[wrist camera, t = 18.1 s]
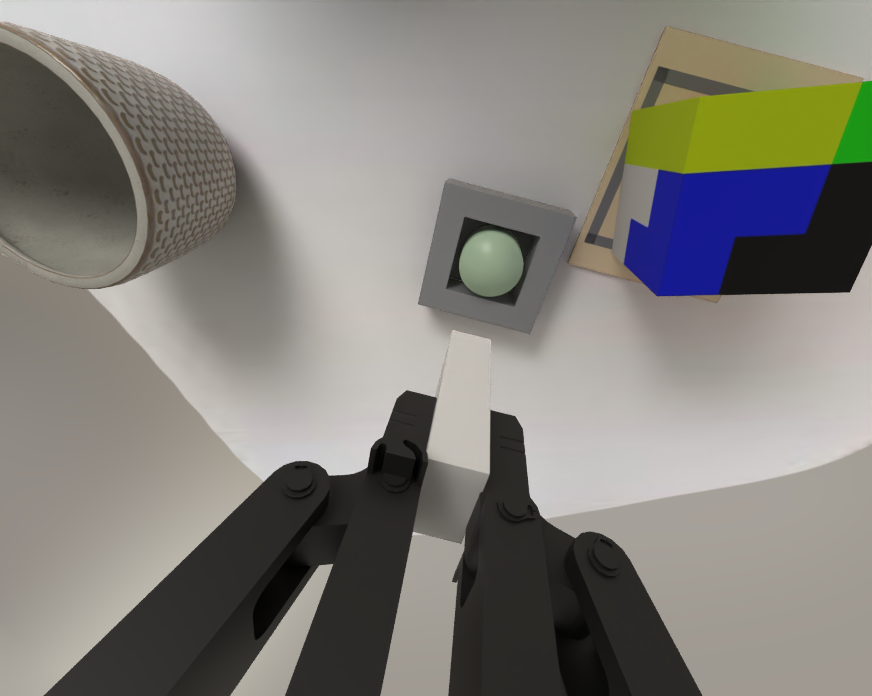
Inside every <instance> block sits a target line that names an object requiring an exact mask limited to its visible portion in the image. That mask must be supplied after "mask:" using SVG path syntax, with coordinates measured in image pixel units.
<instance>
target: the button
mask: <svg viewBox="0 0 872 696" xmlns="http://www.w3.org/2000/svg"><path fill="white" fill-rule="evenodd" d="M459 272H460V276H461V278H462V280H463V282H464V284H465V285H466V286H467V287H468V288H469V289H470V290H471V291H473V292H474V293H476V294H479V295H482V296H487V297H494V296H499V295H502V294H504V293H506V292H508V291H510V290H511V289H512V288H513V287H514V286H515V285H516V284H517V283H518V281H519V279H520V277H521V275H522V272H523V257H522V253H521V249H520V246H519V243H518V240H517V239H516V237H515V236H514V234H513V233H512V232H510V231H509V230H508V229H506V228H504V227H501V226H497V225H487V226H483V227H480V228H478V229H477V230H475V231H474V232H472V233H471V234H470V235H469V237H468V238H467V240H466V241H465V243H464V246H463V249H462V253H461V257H460V261H459Z"/></svg>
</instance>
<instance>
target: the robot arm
mask: <svg viewBox="0 0 872 696" xmlns="http://www.w3.org/2000/svg"><path fill="white" fill-rule="evenodd" d="M490 383H491V339H487V338H483V337H479V336H475V335H471V334H467V333H463V332H459V331H455V330H452V333H451V337H450V341H449V344H448V348H447V352H446V356H445V360H444V364H443V367H442V371H441V375H440V379H439V383H438V386H437V391H436V396H435V397H431V396H427V395H423V394H419V393H415V392H411V391H405V392H404V393H403V394H402V395H401V396H399V397H398V398H397V400H396V403H395V405H394V408H393V411H392V414H391V416H390V419H389V422H388V425H387V427H386V430H385V433H384V436H383V437H382V438H380V439H379V440H377V441H376V442H375V443H374V445H373V446H372V448H371V451H370V457H369V463H368V467H367V468H366V469H364V470H362V471H360V472H358V473H355V474H350V475H335V476H328V474H327V472H326V470H325V469H323V468H322V467H321V466H319V465H318V464H315V463H312V462H308V461H295V462H292V463H289V464H286V465H283V466H282V467H281V468H279V469H278V470H276V471H275V472H274V473H273V474H272V475H271V476H269V477H268V478H267V479H266V480H265V481H264V482H263V483H262V484H261V485H260V486H259V487H258V488H257V489H256V490H255V491H254V492H253V493H252V494H251V495H250V496H249V497H248V498H247V499H246V500H245V501H244V502H243V503H242V504H241V505H240V506H239V507H238V508H237V509H236V510H234V511H233V513H231V514H230V515H229V516H228V517H227V518H226V519H225V520H224V521H223V522H222V523H221V524H220V525H219V526H218V527H217V528H216V529H215V530H214V531H213V532H212V533H211V534H210V535H209V536H208V537H207V538H206V539H205V540H204V541H203V542H202V543H200V544H199V545H198V546H197V547H196V548H195V549H194V550H193V551H192V552H191V553H190V554H189V555H188V556H187V557H186V558H185V559H184V560H183V561H182V562H181V563H180V564H179V565H178V566H177V567H176V568H175V569H174V570H173V571H172V572H171V573H170V574H169V575H168V576H167V577H165V578H164V579H163V580H162V581H161V582H160V583H159V584H158V585H157V586H156V587H155V588H154V589H153V590H152V591H151V592H150V593H149V594H148V595H147V596H146V597H145V598H144V599H143V600H142V601H141V602H140V603H139V604H138V605H137V606H136V607H135V608H134V609H133V610H132V611H131V612H130V613H129V614H127V615H126V616H125V617H124V618H123V619H122V620H121V621H120V622H119V623H118V624H117V625H116V626H115V627H114V628H113V629H112V630H111V631H110V632H109V633H108V634H107V635H106V636H105V637H104V638H103V639H102V640H101V641H100V642H99V643H98V644H97V645H95V646H94V647H93V648H92V650H90V651H89V652H88V653H87V654H86V655H85V656H84V657H83V658H82V659H81V660H80V661H79V662H78V663H77V664H76V665H75V666H74V667H73V668H72V669H71V670H70V671H69V672H68V673H67V674H66V675H65V676H64V677H63V678H62V679H61V680H59V681H58V683H56V684H55V685H54V686H53V687H52V688H51V689H50V690H49V691H48V692H47V693H46V694H45V695H44V696H230V695H231V693H232V692H233V690H234V689H235V688H236V686H237V685H238V683H239V682H240V680H241V679H242V677H243V676H244V674H245V673H246V672H247V670H248V669H249V667H250V666H251V664H252V663H253V661H254V660H255V658H256V657H257V655H258V654H259V652H260V651H261V650H262V648H263V646H264V645H265V644H266V642H267V641H268V639H269V638H270V636H271V635H272V633H273V632H274V630H275V629H276V628H277V626H278V624H279V623H280V622H281V620H282V619H283V617H284V616H285V614H286V613H287V611H288V610H289V609H290V607H291V606H292V604H293V603H294V601H295V600H296V598H297V597H298V595H299V594H300V592H301V591H302V589H303V588H304V587H305V585H306V584H307V582H308V581H309V579H310V578H311V576H312V575H313V573H314V572H315V570H316V569H317V568H318V566H319V565H327V564H333V567H332V569H331V572H330V575H329V578H328V581H327V583H326V586H325V589H324V591H323V594H322V597H321V600H320V602H319V605H318V608H317V610H316V613H315V616H314V618H313V621H312V624H311V627H310V630H309V632H308V635H307V637H306V641H305V643H304V646H303V648H302V651H301V654H300V657H299V660H298V662H297V665H296V667H295V670H294V673H293V676H292V678H291V681H290V684H289V686H288V689H287V692H286V695H285V696H380V694H381V689H382V684H383V679H384V674H385V669H386V664H387V659H388V654H389V649H390V643H391V638H392V634H393V629H394V624H395V618H396V613H397V608H398V603H399V598H400V593H401V588H402V583H403V578H404V573H405V568H406V563H407V557H408V553H409V547H410V543H411V538H412V533H413V532H417V533H421V534H425V535H429V536H433V537H437V538H440V539H444V540H448V541H452V542H456V543H460V544H461V543H462V541H463V538H464V536H465V549H464V552H463V554H462V557H461V559H460V562H459V564H458V566H457V569H456V571H455V574H454V577H453V581H452V582H457V580H458V585H457V596H456V610H455V621H454V635H453V646H452V658H451V670H450V683H449V695H448V696H702V694H701V692H700V690H699V689H698V687H697V685H696V683H695V681H694V679H693V677H692V675H691V674H690V672H689V670H688V668H687V666H686V664H685V662H684V660H683V659H682V657H681V655H680V653H679V651H678V649H677V648H676V645H675V644H674V642H673V640H672V638H671V636H670V634H669V632H668V630H667V629H666V627H665V625H664V623H663V621H662V619H661V617H660V615H659V614H658V612H657V610H656V608H655V606H654V604H653V602H652V600H651V598H650V597H649V595H648V593H647V591H646V589H645V587H644V585H643V584H642V582H641V580H640V578H639V576H638V575H637V572H636V570H635V568H634V567H633V565H632V563H631V561H630V559H629V558H628V557H627V555H626V554H625V552H624V551H623V550H622V548H620V547H619V546H618V545H617V544H616V543H615V542H613V540H611V539H609V538H607V537H606V536H604V535H602V534H599V533H595V532H585V533H581V534H580V535H579V536H578V537H577V538H574V537H572V536H570V535H568V534H567V533H565V532H563V531H561V530H559V529H558V528H556V527H554V526H553V525H551V524H550V523H548V522H547V521H546V520H545V519H544V518H543V517H541V516H540V513H539V510H538V507H537V506H536V504H535V503H534V502H533V500H532V499H531V498H530V494H529V486H528V476H527V466H526V456H525V446H524V436H523V429H522V427H521V425H520V423H519V422H518V420H517V418H516V417H515V416H512V415H508V414H504V413H500V412H496V411H492V410H490Z"/></svg>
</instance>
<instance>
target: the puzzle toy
mask: <svg viewBox="0 0 872 696" xmlns="http://www.w3.org/2000/svg"><path fill="white" fill-rule="evenodd" d="M871 246H872V81H866V82H855V83H844V84H833V85H822V86H811V87H800V88H789V89H778V90H767V91H756V92H745V93H734V94H723V95H712V96H701V97H696V98H691V99H686V100H681V101H676V102H672V103H667V104H662V105H657V106H653V107H648V108H643V109H638V110H633V111H632V115H631V122H630V129H629V136H628V143H627V150H626V156H625V163H624V170H623V177H622V184H621V191H620V197H619V204H618V211H617V218H616V225H615V232H614V239H613V245H612V252H611V253H612V254H613V255H614V256H615V257H616V258H617V259H618V260H619V261H620V262H622V263H623V264H624V265H625V266H626V267H627V268H628V269H629V270H630V271H631V272H632V273H633V274H634V275H635V276H636V277H637V278H638V279H639V280H641V281H642V282H643V283H644V284H645V285H646V286H647V287H648V288H649V289H650V290H651V291H652V292H653V293H654V294H655V295H656V296H693V295H743V294H792V293H841V292H850V291H851V289H852V287H853V284H854V282H855V280H856V278H857V276H858V274H859V272H860V269H861V267H862V265H863V263H864V261H865V259H866V256H867V254H868V252H869V250H870V248H871Z"/></svg>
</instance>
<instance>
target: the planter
mask: <svg viewBox="0 0 872 696" xmlns="http://www.w3.org/2000/svg"><path fill="white" fill-rule="evenodd" d="M235 197H236V174H235V167H234V163H233V160H232V156H231V153H230V150H229V148H228V145H227V143H226V141H225V139H224V137H223V135H222V133H221V131H220V129H219V128H218V126H217V125H216V123H215V122H214V120H213V119H212V118H211V116H210V115H209V114H208V113H207V111H206V110H205V109H204V108H203V107H202V106H201V105H200V104H199V103H198V102H197V101H196V100H195V99H194V98H193V97H192V96H191V95H189V94H188V93H187V92H186V91H185V90H184V89H182V88H181V87H179V86H178V85H176V84H175V83H173V82H172V81H170V80H169V79H167V78H166V77H164V76H162V75H160V74H158V73H156V72H154V71H152V70H150V69H147V68H145V67H143V66H141V65H139V64H136V63H134V62H131V61H128V60H126V59H123V58H120V57H117V56H115V55H112V54H109V53H106V52H103V51H100V50H97V49H94V48H91V47H88V46H84V45H81V44H78V43H74V42H71V41H68V40H65V39H61V38H58V37H55V36H52V35H49V34H45V33H42V32H39V31H36V30H33V29H30V28H26V27H23V26H19V25H16V24H12V23H8V22H4V21H0V253H2V254H3V255H5V256H6V257H7V258H9V259H10V260H12V261H13V262H15V263H16V264H18V265H19V266H21V267H23V268H25V269H26V270H28V271H30V272H32V273H34V274H36V275H38V276H40V277H43V278H45V279H48V280H49V281H52V282H55V283H58V284H61V285H65V286H68V287H75V288H81V289H101V288H106V287H111V286H115V285H120V284H123V283H126V282H129V281H131V280H133V279H136V278H138V277H140V276H142V275H145V274H147V273H149V272H151V271H153V270H155V269H157V268H159V267H161V266H163V265H165V264H167V263H169V262H172V261H174V260H176V259H178V258H180V257H182V256H183V255H185V254H187V253H189V252H190V251H192V250H194V249H196V248H197V247H199V246H201V245H202V244H203V243H205V242H206V241H208V240H209V239H210V238H212V237H213V236H214V235H216V233H217V232H218V231H219V230H220V229H221V228H222V227H223V226H224V225H225V223H226V221H227V219H228V218H229V216H230V214H231V212H232V209H233V206H234V203H235Z"/></svg>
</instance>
